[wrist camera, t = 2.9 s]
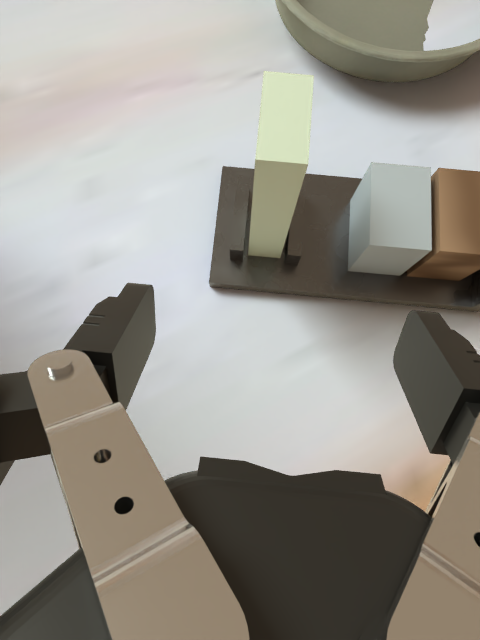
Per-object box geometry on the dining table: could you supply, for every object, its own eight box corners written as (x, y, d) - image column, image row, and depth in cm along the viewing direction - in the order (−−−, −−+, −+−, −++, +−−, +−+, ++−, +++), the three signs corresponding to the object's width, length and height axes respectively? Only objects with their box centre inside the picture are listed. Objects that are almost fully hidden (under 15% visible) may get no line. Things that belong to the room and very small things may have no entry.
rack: (210, 286, 31) (206, 269, 27) (223, 173, 33) (221, 141, 29) (477, 311, 30) (513, 297, 26) (473, 195, 32) (505, 167, 29)
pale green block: (247, 255, 30) (255, 159, 18) (253, 196, 31) (263, 71, 19) (280, 258, 30) (308, 164, 18) (284, 199, 31) (313, 75, 19)
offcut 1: (347, 271, 30) (369, 244, 25) (350, 200, 31) (371, 162, 26) (399, 275, 30) (431, 250, 25) (400, 205, 31) (430, 167, 26)
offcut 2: (406, 276, 30) (440, 250, 25) (407, 205, 31) (438, 168, 26) (459, 280, 30) (502, 256, 25) (456, 209, 31) (498, 173, 26)
